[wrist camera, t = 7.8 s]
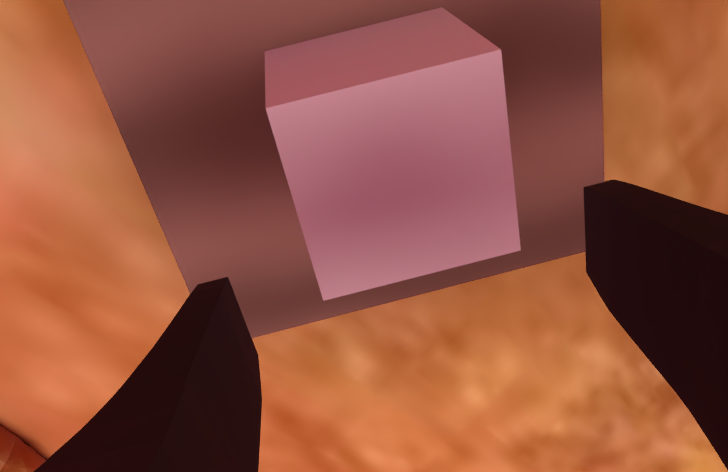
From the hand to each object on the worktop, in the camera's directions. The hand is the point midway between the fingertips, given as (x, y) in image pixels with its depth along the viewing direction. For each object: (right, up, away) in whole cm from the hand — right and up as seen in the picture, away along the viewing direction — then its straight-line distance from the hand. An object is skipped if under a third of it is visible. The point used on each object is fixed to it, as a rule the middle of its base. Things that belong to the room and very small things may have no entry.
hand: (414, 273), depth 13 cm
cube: (-1, +4, +6) cm, 7 cm away
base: (-1, +6, +8) cm, 10 cm away
